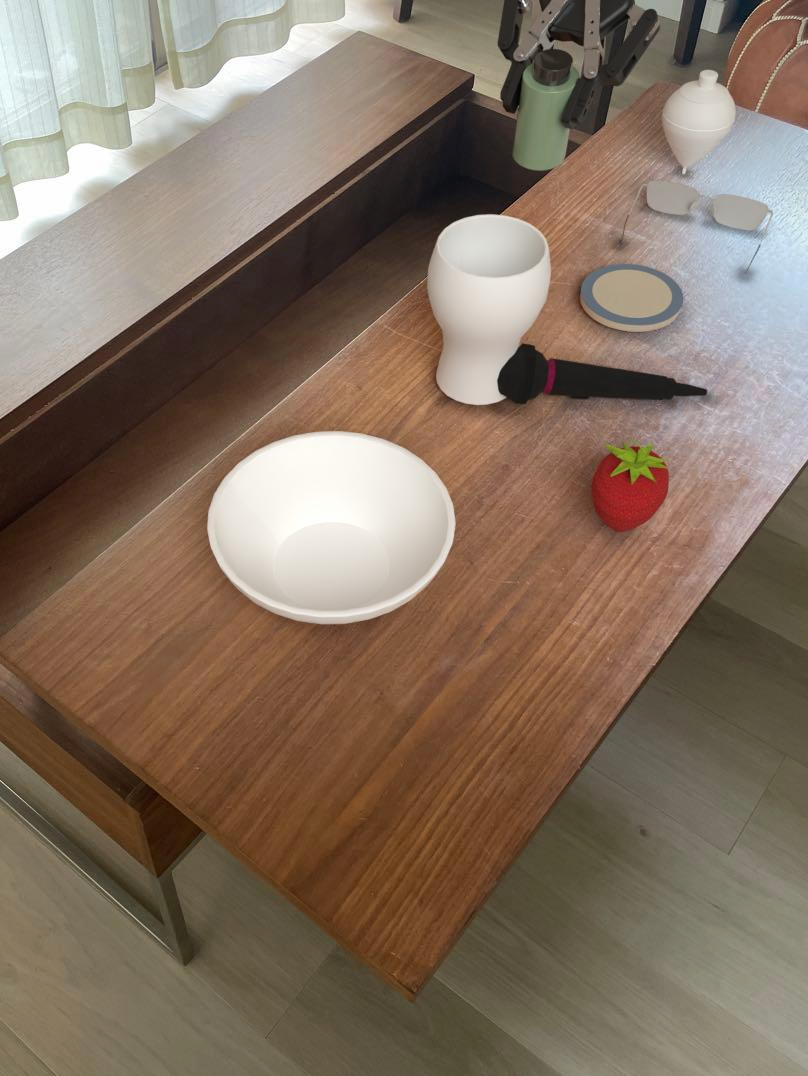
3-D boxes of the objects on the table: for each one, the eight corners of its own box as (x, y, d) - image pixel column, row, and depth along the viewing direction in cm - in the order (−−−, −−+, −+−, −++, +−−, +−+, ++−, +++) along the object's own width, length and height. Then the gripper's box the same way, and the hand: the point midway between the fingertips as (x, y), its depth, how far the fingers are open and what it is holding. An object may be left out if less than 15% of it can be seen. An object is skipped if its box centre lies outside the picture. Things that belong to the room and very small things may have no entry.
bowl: (387, 706, 83) (390, 655, 78) (170, 612, 90) (159, 559, 84) (485, 531, 93) (493, 475, 88) (284, 459, 100) (281, 403, 95)
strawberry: (568, 546, 92) (587, 462, 84) (598, 487, 96) (620, 403, 88) (637, 571, 90) (664, 488, 82) (665, 510, 94) (693, 426, 86)
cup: (435, 423, 102) (447, 290, 90) (409, 350, 108) (417, 218, 97) (547, 407, 102) (572, 273, 91) (514, 336, 109) (534, 203, 98)
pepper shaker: (575, 160, 100) (594, 65, 92) (529, 177, 99) (544, 82, 91) (547, 132, 103) (562, 37, 95) (502, 148, 102) (514, 53, 94)
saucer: (684, 283, 114) (687, 271, 112) (674, 344, 108) (678, 331, 106) (586, 269, 116) (588, 257, 115) (571, 327, 110) (574, 315, 109)
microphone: (688, 407, 106) (483, 387, 106) (706, 352, 103) (495, 330, 103) (705, 433, 101) (490, 411, 101) (724, 375, 98) (503, 352, 98)
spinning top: (666, 196, 124) (691, 95, 115) (638, 161, 129) (660, 62, 120) (730, 185, 125) (760, 84, 115) (699, 151, 130) (726, 51, 120)
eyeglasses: (766, 234, 118) (776, 203, 115) (747, 280, 114) (758, 250, 111) (637, 206, 123) (644, 175, 120) (615, 249, 119) (621, 219, 116)
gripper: (529, -118, 92) (451, 83, 95) (696, -89, 87) (609, 124, 90) (547, -73, 99) (474, 113, 102) (703, -44, 93) (621, 152, 96)
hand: (537, 117), depth 96 cm, fingers closed on pepper shaker, 5 cm apart
